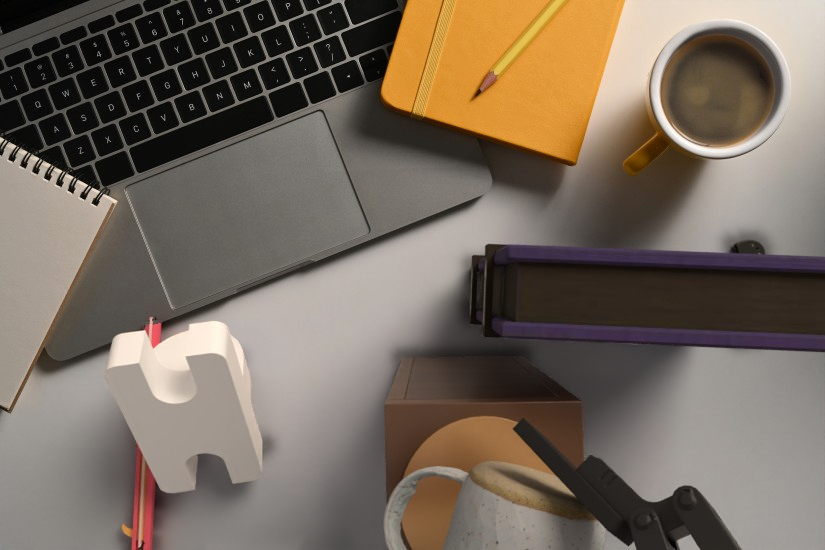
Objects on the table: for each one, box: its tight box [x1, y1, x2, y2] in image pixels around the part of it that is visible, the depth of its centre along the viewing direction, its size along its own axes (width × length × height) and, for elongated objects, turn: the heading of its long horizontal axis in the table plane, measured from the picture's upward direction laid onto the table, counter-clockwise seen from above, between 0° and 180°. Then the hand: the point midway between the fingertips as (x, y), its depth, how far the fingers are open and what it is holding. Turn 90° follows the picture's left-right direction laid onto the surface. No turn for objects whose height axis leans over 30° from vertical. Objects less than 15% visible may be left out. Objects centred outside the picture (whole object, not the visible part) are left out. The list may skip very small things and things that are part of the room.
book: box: [468, 243, 825, 353], centre depth 54 cm, size 24×6×30 cm, turn 88°
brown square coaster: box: [383, 396, 585, 550], centre depth 42 cm, size 12×12×2 cm
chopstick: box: [121, 316, 162, 550], centre depth 69 cm, size 24×2×5 cm
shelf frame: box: [385, 355, 577, 401], centre depth 56 cm, size 12×12×26 cm
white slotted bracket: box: [103, 320, 263, 494], centre depth 65 cm, size 10×18×11 cm
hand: (456, 509), depth 34 cm, fingers closed on ceramic mug, 10 cm apart
